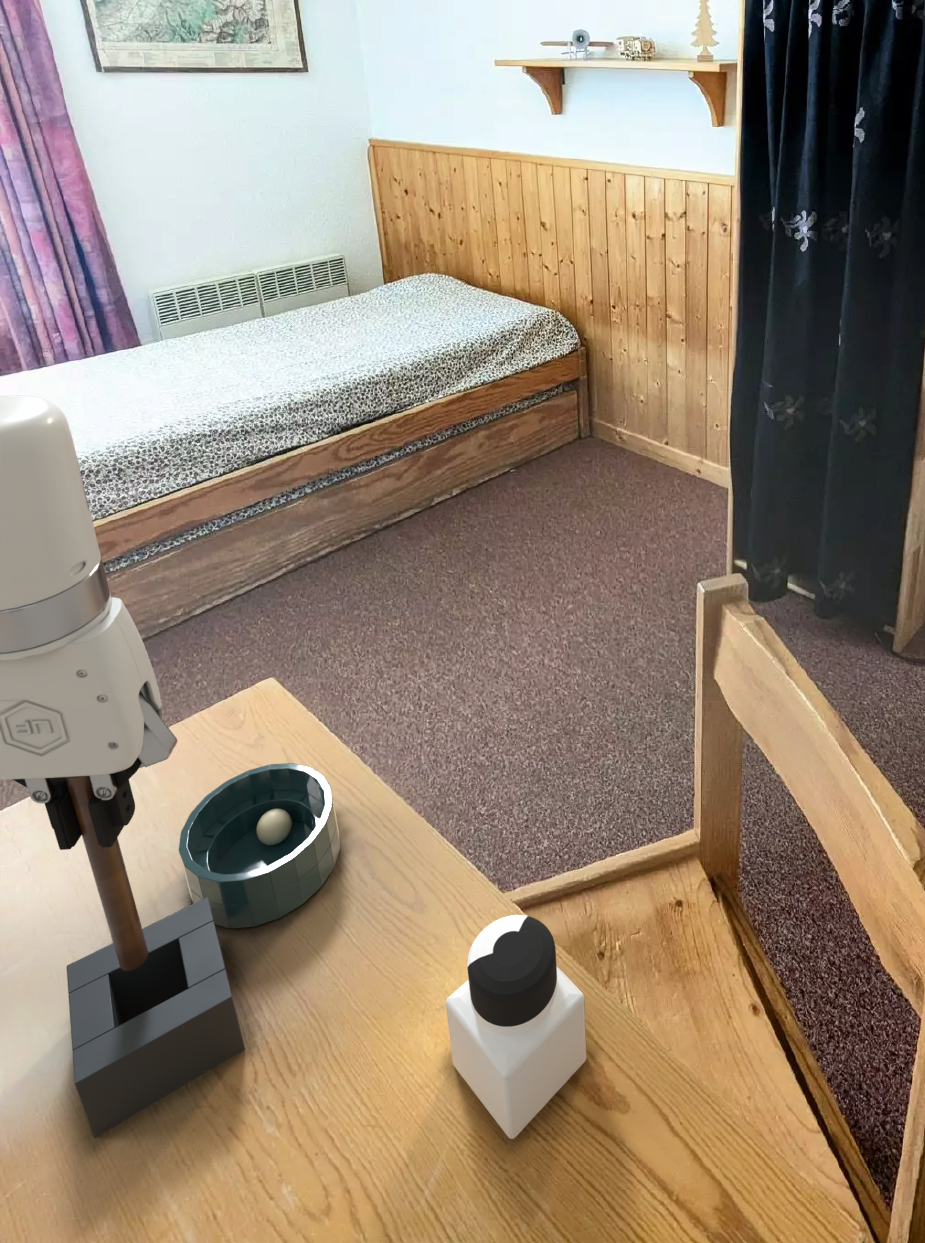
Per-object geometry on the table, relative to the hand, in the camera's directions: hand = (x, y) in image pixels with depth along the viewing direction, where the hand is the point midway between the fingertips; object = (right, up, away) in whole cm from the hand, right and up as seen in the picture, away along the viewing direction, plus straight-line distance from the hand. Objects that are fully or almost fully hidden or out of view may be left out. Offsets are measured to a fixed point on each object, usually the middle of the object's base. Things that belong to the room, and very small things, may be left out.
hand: (97, 829), depth 58 cm
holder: (0, -20, +7) cm, 21 cm away
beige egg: (+2, -12, +22) cm, 25 cm away
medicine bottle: (+28, -20, +6) cm, 35 cm away
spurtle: (0, -12, +4) cm, 13 cm away
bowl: (+2, -15, +20) cm, 25 cm away
